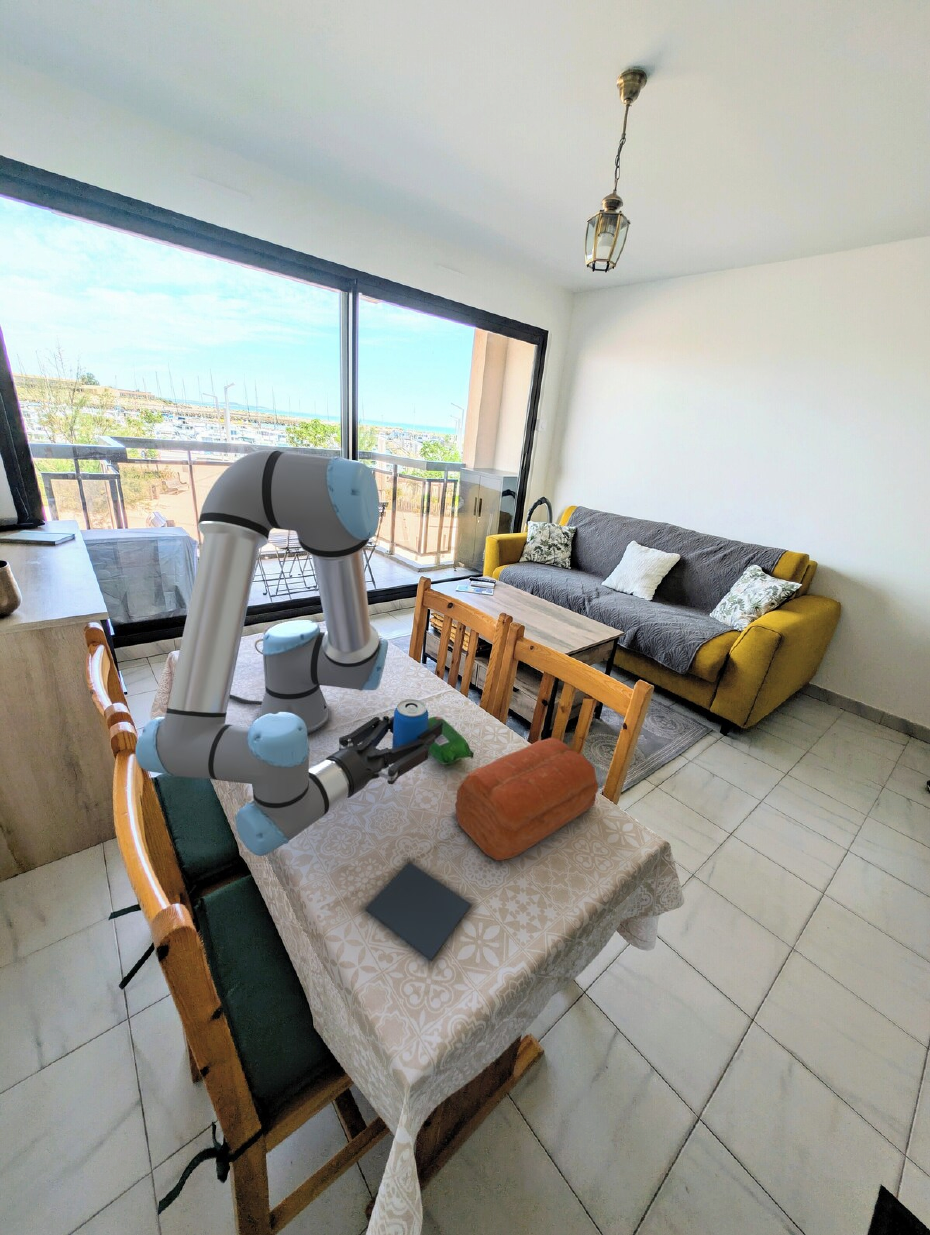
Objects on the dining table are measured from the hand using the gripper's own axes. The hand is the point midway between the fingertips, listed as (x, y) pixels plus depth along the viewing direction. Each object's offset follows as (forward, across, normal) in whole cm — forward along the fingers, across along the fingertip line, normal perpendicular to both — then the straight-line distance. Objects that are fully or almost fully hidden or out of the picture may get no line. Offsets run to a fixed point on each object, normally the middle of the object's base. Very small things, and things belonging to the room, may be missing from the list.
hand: (426, 720), depth 94 cm
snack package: (+7, -1, -12) cm, 14 cm away
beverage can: (-5, 0, -7) cm, 8 cm away
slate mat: (-24, +20, -11) cm, 33 cm away
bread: (+4, +23, -12) cm, 26 cm away
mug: (+4, -56, -12) cm, 58 cm away
